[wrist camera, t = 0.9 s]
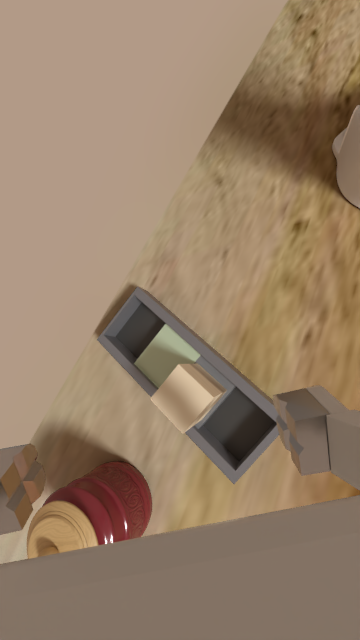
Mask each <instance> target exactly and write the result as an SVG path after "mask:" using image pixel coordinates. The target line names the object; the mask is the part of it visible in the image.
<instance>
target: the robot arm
mask: <svg viewBox="0 0 360 640" xmlns="http://www.w3.org/2000/svg"><path fill="white" fill-rule="evenodd" d="M332 150H333V153H334V155H335V157H336V159H337V173H336V174H337V183H338V186H339V188H340V190H341V192H342V194H343V195H344V196H345V198H346V199H347V200H348V201H349V202H351V203H352V204H354V205H355V206H357V207H359V208H360V105H358V106H356V108H355V110H354V111H353V114H352V116H351V119H350V122H349V124H348V127H347V128H346V129H345V130H344V131H342V132H341V133H340V134H339V135H338V136H337V137H336V138H335V139H334V142H333V144H332ZM273 402H274V408H275V409H276V411H277V412H278V416H277V418H276V423H277V428H278V432H279V435H280V438H281V441H282V443H283V445H284V446H285V448H286V449H287V450H289V451H291V458H292V460H293V462H294V464H295V466H296V467H297V469H298V471H299V472H300V474H301V476H303V475H309V474H315V473H321V472H327V471H331V472H332V473H333V474H335V475H336V476H338V477H339V478H341V479H343V480H344V481H346V482H347V483H349V484H350V485H352V486H354V487H355V488H357V489H358V490H360V411H358V410H348V409H347V408H346V407H345V406H344V405H343V404H342V403H340V402H339V401H338V400H337V399H336V398H335V397H334V396H332V395H331V394H330V393H329V392H328V391H327V390H326V389H325V388H323V387H322V386H320V385H316V386H312V387H308V388H304V389H299V390H295V391H290V392H286V393H282V394H277V395H273ZM37 456H38V453H37V451H36V449H35V446H34V445H31V444H26V445H20V446H15V447H9V448H3V449H0V535H2V534H6V533H11V532H15V531H20V530H22V529H23V527H24V525H25V524H26V522H27V520H28V518H29V516H30V514H31V513H32V511H33V508H32V504H33V503H34V502H35V501H36V500H37V499H38V498H39V497H40V496H41V494H42V492H43V490H44V485H45V471H44V469H43V466H42V465H41V464H40V463H38V462H37V461H36V458H37ZM0 640H360V495H358V496H353V497H348V498H343V499H338V500H332V501H327V502H322V503H317V504H312V505H306V506H301V507H296V508H291V509H286V510H280V511H275V512H270V513H265V514H259V515H254V516H249V517H244V518H239V519H233V520H228V521H223V522H218V523H213V524H207V525H202V526H197V527H192V528H187V529H181V530H176V531H171V532H166V533H161V534H155V535H150V536H145V537H140V538H135V539H129V540H124V541H119V542H114V543H108V544H103V545H98V546H93V547H88V548H82V549H77V550H72V551H67V552H61V553H56V554H51V555H46V556H41V557H35V558H30V559H25V560H20V561H14V562H9V563H4V564H0Z"/></svg>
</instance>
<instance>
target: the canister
mask: <svg viewBox="0 0 360 640" xmlns="http://www.w3.org/2000/svg"><path fill="white" fill-rule="evenodd" d="M151 512H152V498H151V493H150V489H149V486H148V484H147V482H146V480H145V479H144V477H143V476H142V474H141V473H140V472H139V471H138V470H137V469H136V468H135V467H133V466H132V465H130V464H128V463H125V462H121V461H113V462H108V463H104V464H102V465H100V466H98V467H96V468H95V469H94V470H92V471H91V472H90V473H88V474H87V475H85V476H83V477H82V478H79V479H76V480H74V481H72V482H71V483H70V484H68V485H67V486H66V487H63V488H61V489H58V490H57V491H55V492H54V493H52V494H51V495H50V496H49V497H48V499H47V500H46V501H45V503H44V504H43V506H42V508H40V509H39V510H38V512H37V513H36V514H35V516H34V517H33V519H32V521H31V524H30V527H29V530H28V536H27V555H28V559H30V558H35V557H41V556H46V555H51V554H56V553H61V552H67V551H72V550H77V549H82V548H88V547H93V546H98V545H103V544H108V543H114V542H119V541H124V540H129V539H135V538H140V537H141V536H142V535H143V533H144V531H145V530H146V528H147V525H148V523H149V520H150V517H151Z"/></svg>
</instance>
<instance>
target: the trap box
mask: <svg viewBox="0 0 360 640" xmlns="http://www.w3.org/2000/svg"><path fill="white" fill-rule="evenodd" d="M97 340H98V341H99V342H100V344H101V345H102V346H103V347H104V348H105V349H106V350H107V351H108V352H109V353H110V354H111V355H112V356H113V357H114V358H115V359H116V360H117V361H118V363H119V364H120V365H121V366H122V367H123V368H124V369H125V370H126V371H127V372H128V373H129V374H130V375H131V376H132V377H133V378H134V379H135V380H136V381H137V383H138V384H139V385H140V386H141V387H142V388H143V389H144V390H145V391H146V392H147V393H148V394H149V395H150V396H151V397H152V396H153V395H154V394H155V392H156V391H157V390H158V389H159V387H160V386H161V385H162V384H163V383H164V381H165V380H166V379H167V378H168V376H169V375H170V374H171V373H172V372H173V370H174V369H175V368H176V367H177V365H178V364H195V363H198V364H199V365H200V366H201V367H203V368H204V369H205V370H206V371H207V372H208V373H209V374H210V375H211V376H212V377H213V378H215V379H216V380H217V381H218V382H219V383H220V384H221V385H222V386H223V387H224V388H225V389H227V391H226V392H225V393H224V395H223V396H222V397H221V398H220V399H219V400H218V402H217V403H216V404H215V405H214V406H213V407H212V409H211V410H210V411H209V412H208V413H207V414H206V416H205V417H204V418H203V419H202V420H201V421H199V422H198V423H197V424H195V425H194V426H193V427H191V428H190V429H189V430H187V431H186V432H185V433H186V434H187V435H188V436H189V437H190V438H191V439H192V441H193V442H194V443H195V444H196V445H197V446H198V447H199V448H200V449H201V450H202V451H203V452H204V453H205V454H206V455H207V456H208V457H209V458H210V460H211V461H212V462H213V463H214V464H215V465H216V466H217V467H218V468H219V469H220V470H221V471H222V472H223V473H224V474H225V475H226V476H227V477H228V479H229V480H230V481H231V482H232V483H233V484H235V483H236V482H237V481H238V479H239V478H240V477H241V476H242V475H243V474H244V473H245V472H246V471H247V470H248V468H249V467H250V466H251V465H252V464H253V463H254V462H255V461H256V460H257V458H258V457H259V456H260V455H261V454H262V453H263V452H264V451H265V450H266V449H267V447H268V446H269V445H270V444H271V443H272V442H273V441H274V440H275V439H276V437H277V436H278V435H279V432H278V428H277V423H276V418H277V416H278V412H277V411H276V409H275V408H274V402H273V400H272V399H271V398H270V397H268V396H267V395H266V394H265V393H264V392H263V391H261V390H260V389H259V388H258V387H257V386H256V385H255V384H253V383H252V382H251V381H250V380H249V379H248V378H247V377H245V376H244V375H243V374H242V373H241V372H240V371H239V370H237V369H236V368H235V367H234V366H233V365H232V364H230V363H229V362H228V361H227V360H226V359H225V358H224V357H222V356H221V355H220V354H219V353H218V352H217V351H216V350H214V349H213V348H212V347H211V346H210V345H209V344H207V343H206V342H205V341H204V340H203V339H202V338H201V337H199V336H198V335H197V334H196V333H195V332H194V331H193V330H191V329H190V328H189V327H188V326H187V325H186V324H185V323H183V322H182V321H181V320H180V319H179V318H178V317H176V316H175V315H174V314H173V313H172V312H171V311H170V310H168V309H167V308H166V307H165V306H164V305H163V304H162V303H160V302H159V301H158V300H157V299H156V298H155V297H153V296H152V295H151V294H150V293H149V292H148V291H146V290H144V289H142V288H140V287H137V288H136V289H135V291H134V292H133V293H132V294H131V296H130V297H129V298H128V300H127V301H126V302H125V304H124V305H123V306H122V307H121V309H120V310H119V311H118V313H117V314H116V315H115V317H114V318H113V319H112V321H111V322H110V323H109V324H108V326H107V327H106V328H105V330H104V331H103V332H102V334H101V335H100V336H99V338H98V339H97Z"/></svg>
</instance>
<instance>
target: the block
mask: <svg viewBox="0 0 360 640" xmlns="http://www.w3.org/2000/svg"><path fill="white" fill-rule="evenodd" d="M226 391H227V389H225V388H224V387H223V386H222V385H221V384H220V383H219V382H218V381H217V380H216V379H215V378H213V377H212V376H211V375H210V374H209V373H208V372H207V371H206V370H205V369H204V368H203V367H201V366H200V365H199V364H198V363H195V364H178V365H177V367H176V368H175V369H174V370H173V372H172V373H171V374H170V375H169V376H168V378H167V379H166V380H165V381H164V383H163V384H162V385H161V386H160V387H159V389H158V390H157V391H156V392H155V394H154V395H153V396H152V397H151V398H150V400H151V401H152V402H153V403H154V404H155V405H156V406H157V407H158V408H159V409H160V410H161V411H162V412H163V413H164V414H165V416H166V417H167V418H168V419H169V420H170V421H171V422H172V423H173V424H174V425H175V426H176V427H177V428H178V429H179V430H180V431H181V432H182V434H183V433H185V432H186V431H187V430H189V429H190V428H191V427H193V426H194V425H195V424H197V423H198V422H199V421H201V420H202V419H203V418H204V417H205V416H206V414H207V413H208V412H209V411H210V410H211V409H212V407H213V406H214V405H215V404H216V403H217V402H218V400H219V399H220V398H221V397H222V396H223V395H224V393H225V392H226Z"/></svg>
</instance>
